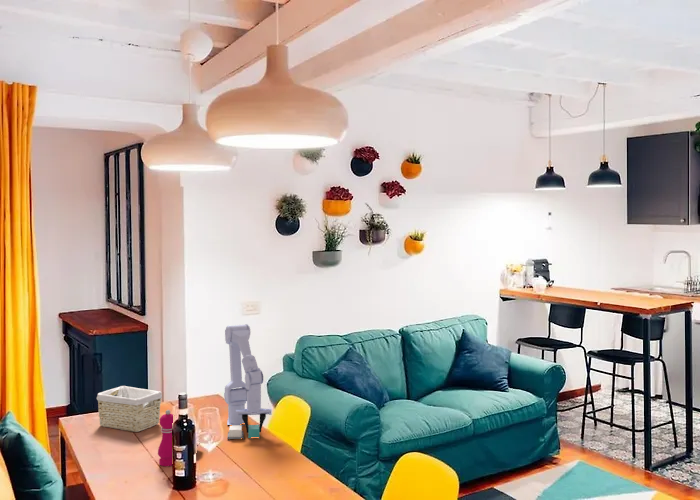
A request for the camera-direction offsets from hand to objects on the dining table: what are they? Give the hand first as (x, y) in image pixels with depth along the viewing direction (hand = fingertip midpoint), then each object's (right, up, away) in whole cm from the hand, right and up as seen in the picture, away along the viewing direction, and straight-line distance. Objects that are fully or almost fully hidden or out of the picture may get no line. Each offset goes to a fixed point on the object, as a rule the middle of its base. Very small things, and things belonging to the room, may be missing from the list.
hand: (253, 431), depth 274 cm
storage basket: (-56, -1, +14) cm, 58 cm away
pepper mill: (-27, -3, -31) cm, 42 cm away
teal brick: (0, -2, 0) cm, 2 cm away
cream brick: (-7, -2, -1) cm, 8 cm away
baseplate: (-7, -2, -1) cm, 8 cm away
